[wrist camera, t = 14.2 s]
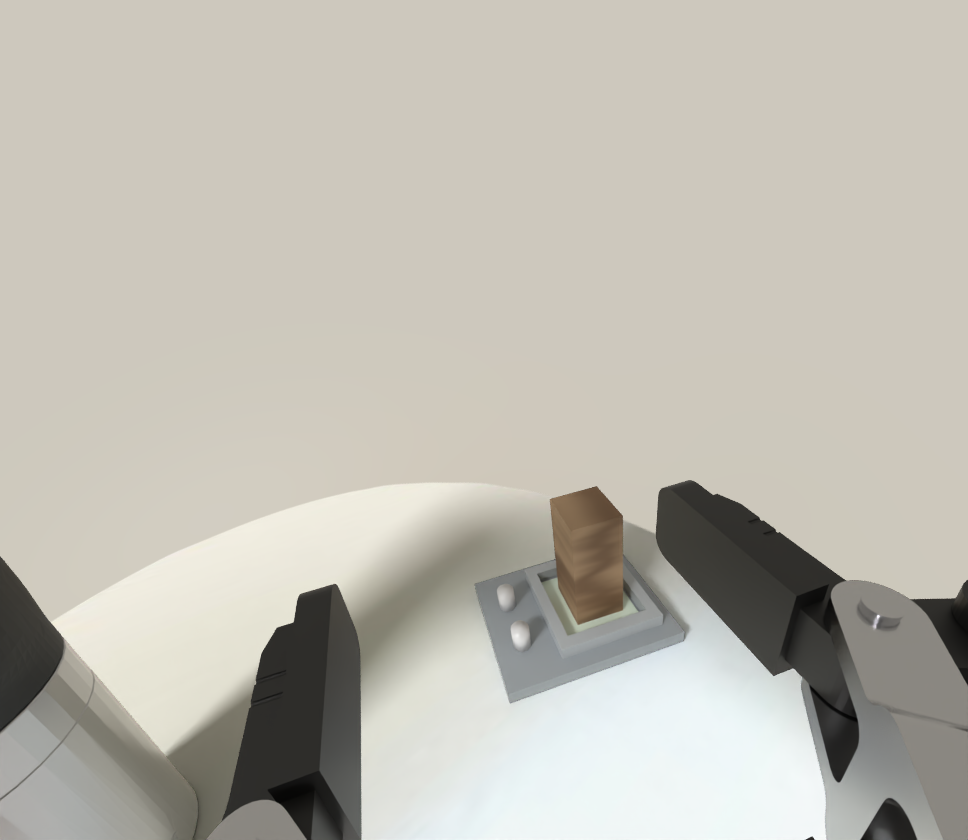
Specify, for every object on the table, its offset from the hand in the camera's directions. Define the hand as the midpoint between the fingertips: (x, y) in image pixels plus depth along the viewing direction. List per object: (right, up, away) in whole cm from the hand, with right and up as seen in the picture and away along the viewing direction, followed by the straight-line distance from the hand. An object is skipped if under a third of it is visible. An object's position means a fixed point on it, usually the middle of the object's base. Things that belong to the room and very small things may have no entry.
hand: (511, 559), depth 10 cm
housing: (+8, -15, +31) cm, 35 cm away
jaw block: (+9, -14, +31) cm, 35 cm away
